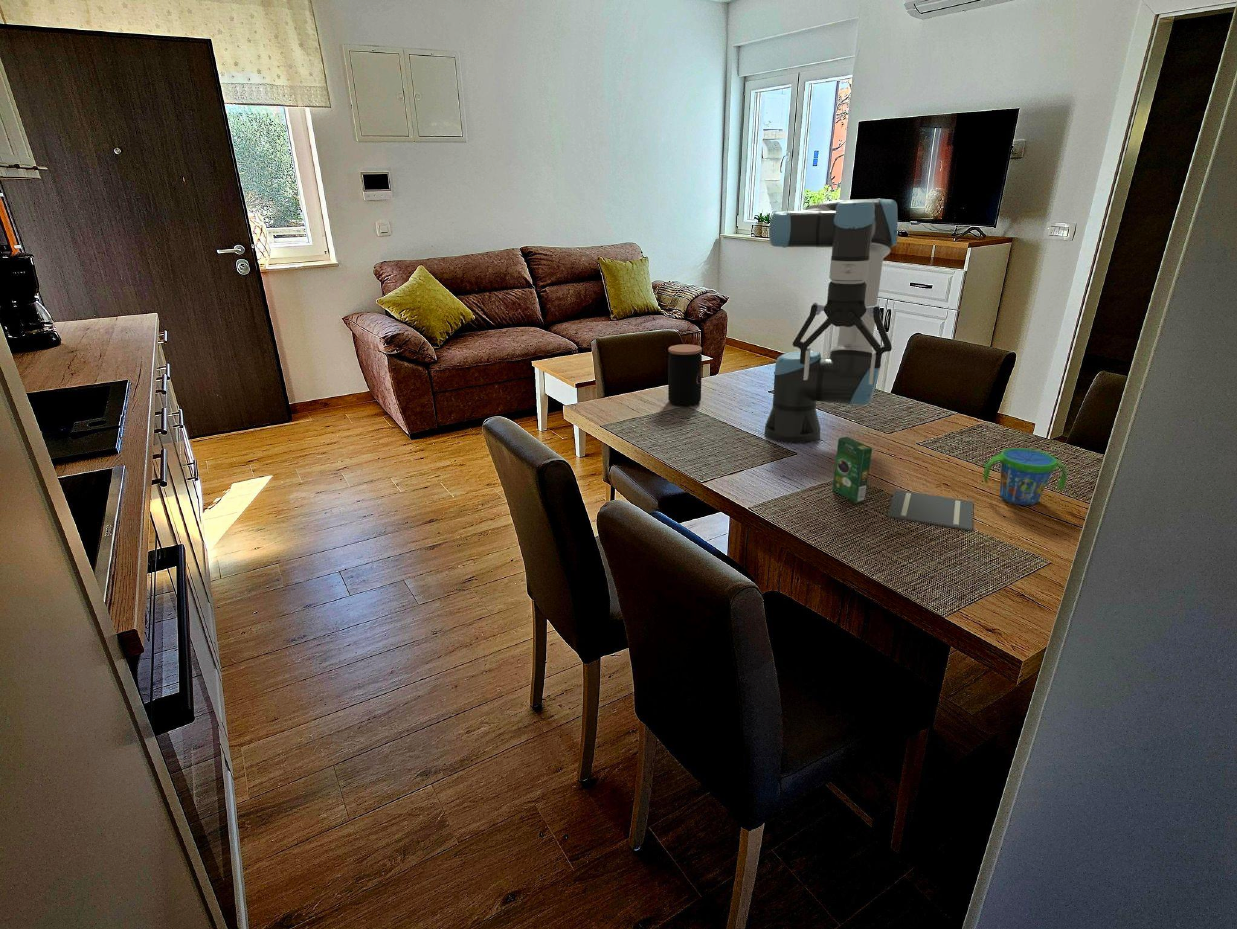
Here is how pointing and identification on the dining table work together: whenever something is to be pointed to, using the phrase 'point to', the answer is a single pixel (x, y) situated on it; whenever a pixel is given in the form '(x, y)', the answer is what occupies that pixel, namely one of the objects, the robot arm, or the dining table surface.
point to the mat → (932, 509)
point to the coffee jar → (684, 375)
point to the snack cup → (1024, 474)
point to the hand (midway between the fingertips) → (837, 380)
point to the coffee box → (852, 469)
